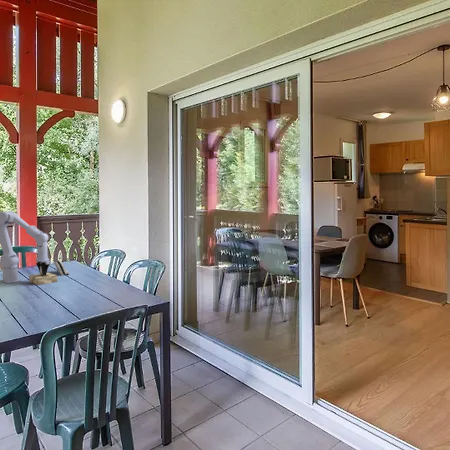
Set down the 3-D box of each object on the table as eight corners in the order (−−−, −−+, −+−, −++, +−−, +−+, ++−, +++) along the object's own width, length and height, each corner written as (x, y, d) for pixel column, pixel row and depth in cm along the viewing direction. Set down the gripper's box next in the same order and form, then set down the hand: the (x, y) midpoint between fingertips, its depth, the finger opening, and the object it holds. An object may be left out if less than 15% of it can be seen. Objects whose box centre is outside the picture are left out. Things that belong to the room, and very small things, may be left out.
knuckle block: (29, 281, 235) (29, 275, 235) (48, 278, 244) (48, 272, 244) (37, 285, 228) (37, 278, 227) (57, 281, 237) (57, 275, 236)
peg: (39, 278, 235) (38, 263, 235) (44, 277, 238) (43, 262, 237) (42, 279, 234) (41, 263, 233) (46, 278, 236) (46, 263, 235)
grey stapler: (69, 274, 256) (64, 261, 254) (62, 277, 254) (57, 264, 252) (65, 270, 270) (60, 257, 268) (58, 273, 268) (53, 260, 266)
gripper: (54, 253, 233) (54, 274, 234) (43, 250, 242) (44, 271, 243) (42, 254, 227) (43, 276, 229) (32, 251, 237) (33, 273, 238)
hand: (43, 274), depth 236 cm, fingers closed on peg, 3 cm apart
